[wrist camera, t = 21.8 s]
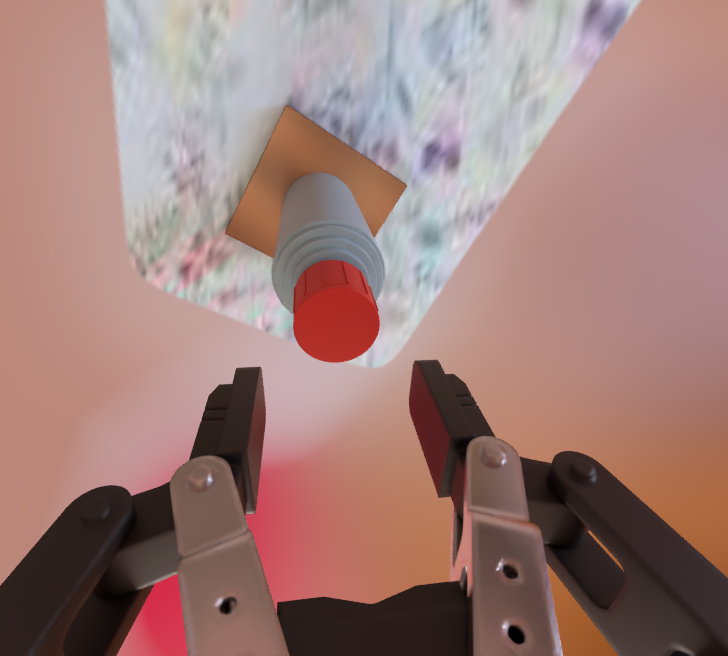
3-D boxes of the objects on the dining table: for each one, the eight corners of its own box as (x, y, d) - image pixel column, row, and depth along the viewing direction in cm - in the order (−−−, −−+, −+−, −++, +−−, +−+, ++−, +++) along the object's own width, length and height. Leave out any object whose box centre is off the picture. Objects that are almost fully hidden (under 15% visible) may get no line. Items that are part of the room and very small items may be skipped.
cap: (317, 245, 18) (320, 272, 15) (383, 281, 20) (396, 311, 17) (281, 307, 20) (278, 342, 17) (344, 337, 21) (351, 374, 18)
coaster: (286, 104, 30) (286, 104, 29) (406, 184, 34) (407, 185, 33) (225, 231, 34) (224, 233, 33) (339, 289, 38) (339, 292, 37)
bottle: (304, 156, 31) (307, 226, 15) (369, 197, 33) (433, 297, 17) (269, 223, 33) (239, 347, 17) (332, 257, 36) (358, 396, 19)
